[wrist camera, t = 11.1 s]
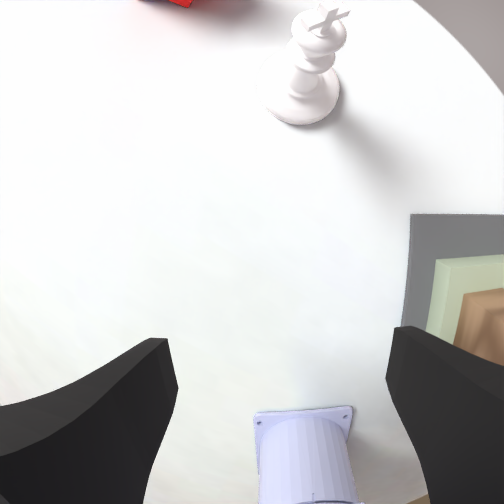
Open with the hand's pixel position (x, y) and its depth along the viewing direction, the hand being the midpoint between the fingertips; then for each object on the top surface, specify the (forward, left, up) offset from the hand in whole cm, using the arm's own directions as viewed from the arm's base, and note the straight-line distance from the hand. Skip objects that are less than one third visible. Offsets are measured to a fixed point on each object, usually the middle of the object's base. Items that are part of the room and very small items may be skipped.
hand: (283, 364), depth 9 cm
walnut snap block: (-4, -15, -8) cm, 17 cm away
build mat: (-4, -15, -10) cm, 18 cm away
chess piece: (+11, -2, -11) cm, 15 cm away
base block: (-4, -15, -10) cm, 18 cm away
